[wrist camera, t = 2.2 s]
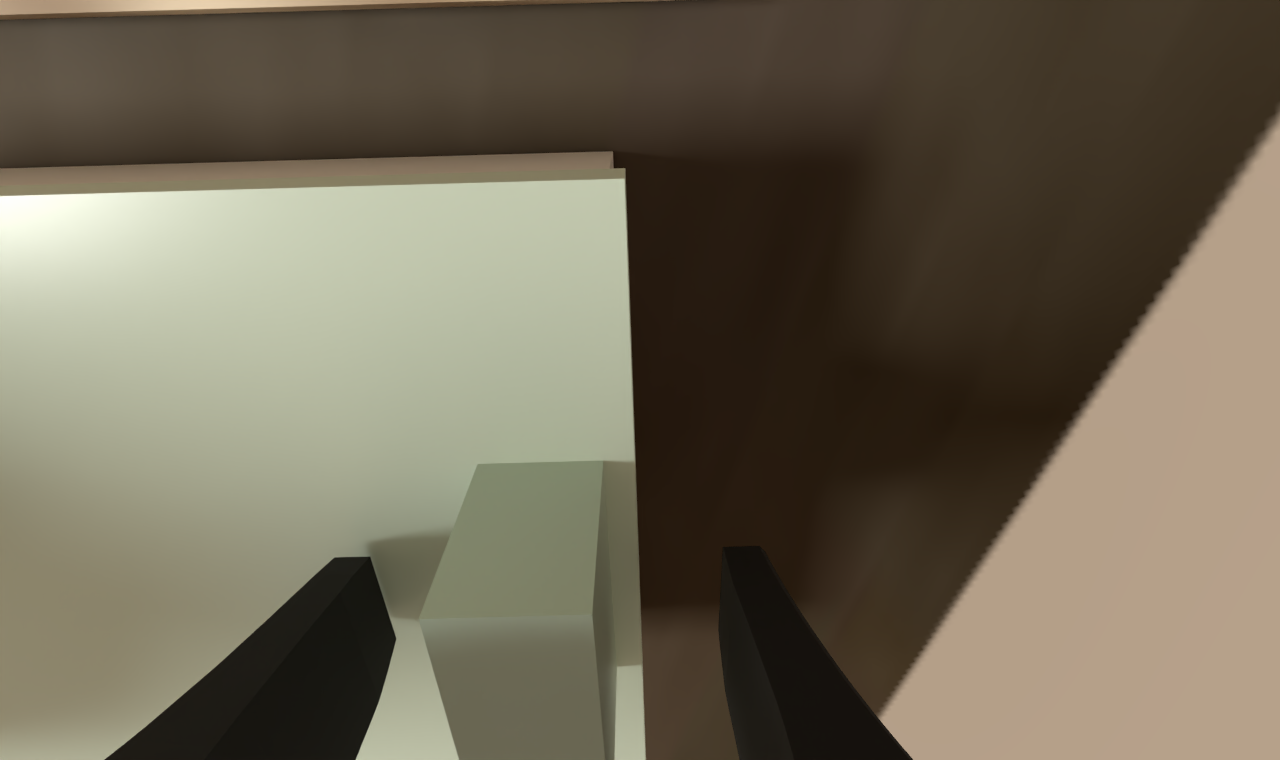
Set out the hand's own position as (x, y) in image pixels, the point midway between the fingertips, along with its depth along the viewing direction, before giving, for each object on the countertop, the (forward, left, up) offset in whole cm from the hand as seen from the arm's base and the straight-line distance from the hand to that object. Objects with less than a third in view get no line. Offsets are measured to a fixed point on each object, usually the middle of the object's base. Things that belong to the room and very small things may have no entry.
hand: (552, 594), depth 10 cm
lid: (-7, 0, -1) cm, 7 cm away
